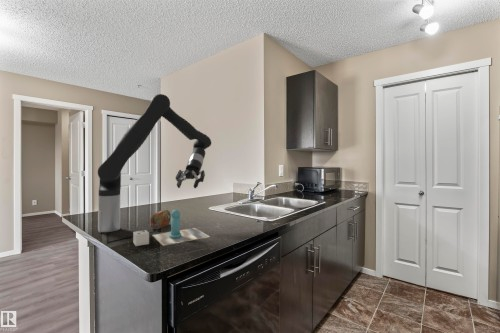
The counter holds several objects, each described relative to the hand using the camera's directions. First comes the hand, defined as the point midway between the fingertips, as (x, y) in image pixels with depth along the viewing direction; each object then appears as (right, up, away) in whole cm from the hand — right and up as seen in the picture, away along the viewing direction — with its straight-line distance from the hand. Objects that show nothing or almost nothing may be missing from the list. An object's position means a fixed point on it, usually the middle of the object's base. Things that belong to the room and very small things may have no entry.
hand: (186, 187), depth 120 cm
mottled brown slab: (-15, -22, +5) cm, 27 cm away
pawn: (-2, -21, -11) cm, 24 cm away
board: (0, -22, -10) cm, 24 cm away
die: (-13, -22, -20) cm, 33 cm away
